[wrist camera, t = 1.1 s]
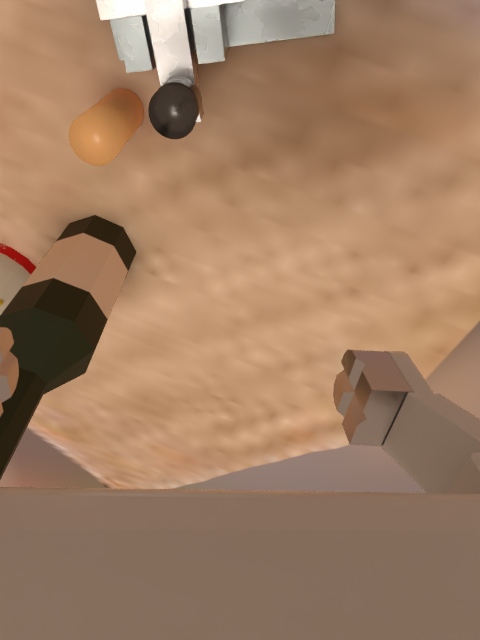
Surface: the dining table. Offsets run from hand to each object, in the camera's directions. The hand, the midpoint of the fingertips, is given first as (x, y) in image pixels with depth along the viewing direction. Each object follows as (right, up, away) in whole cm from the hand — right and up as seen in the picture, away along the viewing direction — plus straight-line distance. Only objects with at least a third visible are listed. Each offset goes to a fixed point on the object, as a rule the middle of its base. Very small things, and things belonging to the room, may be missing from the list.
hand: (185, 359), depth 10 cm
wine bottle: (-15, +9, +38) cm, 42 cm away
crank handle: (-3, +22, +17) cm, 28 cm away
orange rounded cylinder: (-9, +21, +28) cm, 36 cm away
